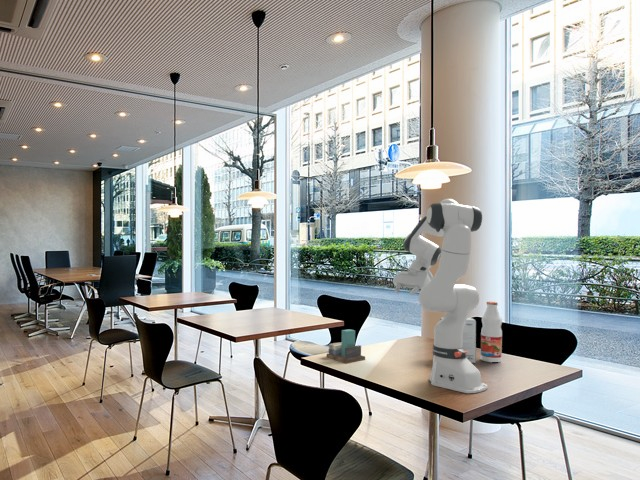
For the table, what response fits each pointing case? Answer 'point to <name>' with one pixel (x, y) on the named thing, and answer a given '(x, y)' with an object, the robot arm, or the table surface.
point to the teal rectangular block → (347, 340)
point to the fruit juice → (491, 334)
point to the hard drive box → (469, 339)
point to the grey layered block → (350, 353)
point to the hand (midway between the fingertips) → (403, 292)
